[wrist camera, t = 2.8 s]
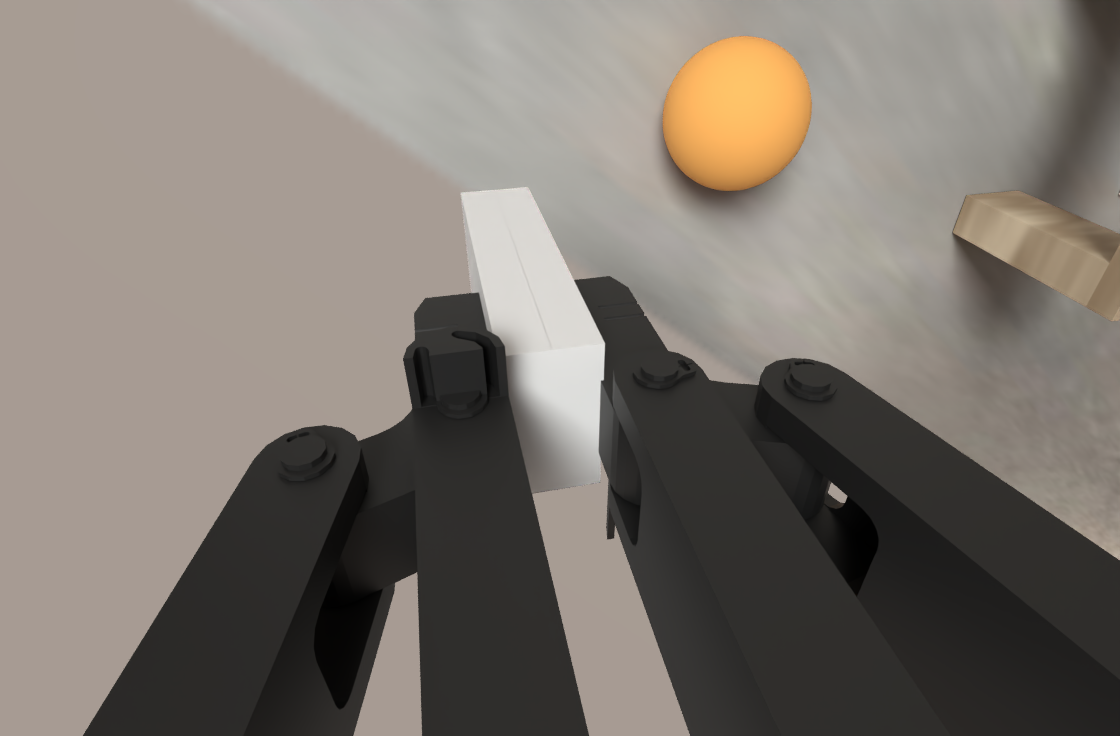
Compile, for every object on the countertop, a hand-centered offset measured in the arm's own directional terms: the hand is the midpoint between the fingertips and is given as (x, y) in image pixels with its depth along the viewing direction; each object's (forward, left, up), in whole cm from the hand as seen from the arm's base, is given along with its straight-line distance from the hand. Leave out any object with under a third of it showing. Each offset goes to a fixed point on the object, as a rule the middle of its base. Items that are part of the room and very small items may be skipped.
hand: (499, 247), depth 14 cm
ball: (-10, 0, -10) cm, 14 cm away
